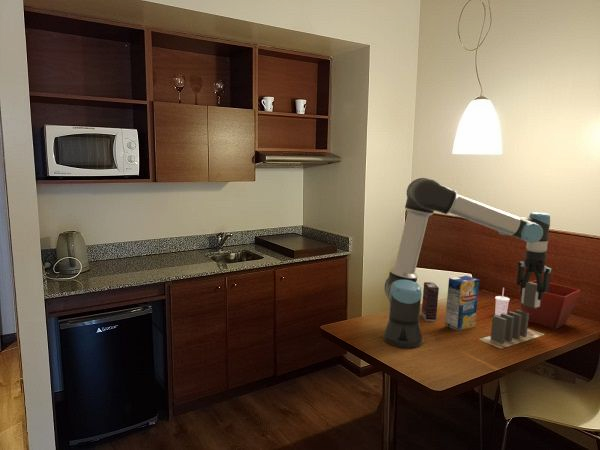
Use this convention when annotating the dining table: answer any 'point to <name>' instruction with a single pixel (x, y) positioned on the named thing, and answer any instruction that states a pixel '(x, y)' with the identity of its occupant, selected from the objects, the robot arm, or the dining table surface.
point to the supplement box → (430, 301)
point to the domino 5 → (530, 294)
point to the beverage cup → (501, 304)
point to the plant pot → (553, 306)
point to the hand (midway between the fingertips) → (530, 304)
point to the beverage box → (462, 302)
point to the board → (513, 339)
